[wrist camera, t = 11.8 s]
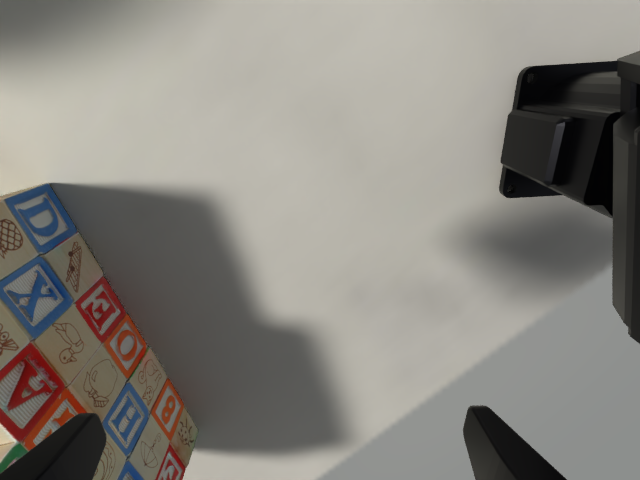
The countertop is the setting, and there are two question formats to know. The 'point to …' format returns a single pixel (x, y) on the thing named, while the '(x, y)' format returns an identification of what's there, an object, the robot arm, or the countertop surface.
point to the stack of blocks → (77, 350)
